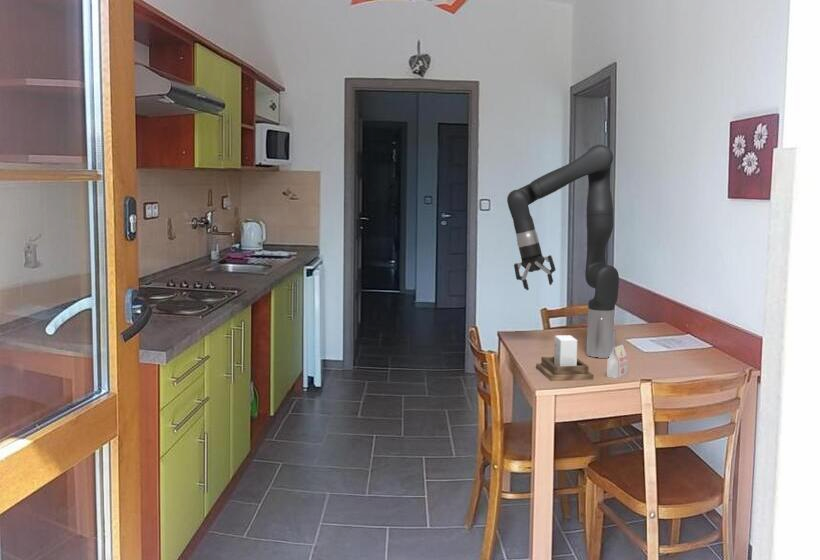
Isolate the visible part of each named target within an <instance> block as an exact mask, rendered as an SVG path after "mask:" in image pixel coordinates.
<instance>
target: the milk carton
mask: <svg viewBox="0 0 820 560" xmlns="http://www.w3.org/2000/svg"><path fill="white" fill-rule="evenodd" d="M606 363H607V364H606V377H607V376H608V377H613V378H620V377H622V376H624V377H626V376H625V375H628V356H627V353H626V351H625V347H624V344H620V345H617V346H615V348H613V350H612V352H611V354H610V356H609V358H607V360H606ZM622 378H623V377H622ZM620 379H621V378H620Z"/></svg>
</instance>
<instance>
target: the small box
mask: <svg viewBox="0 0 820 560" xmlns="http://www.w3.org/2000/svg"><path fill="white" fill-rule="evenodd" d="M553 343H554V345H553V346H554V347H553V348H554V349H553V352H554V353H553V354H554V356H553V357H554V365H555V366H577V359H578V339H576V338H575V337H574V336H572V335H568V334H567V335H563V334H562V335H556V334H555V335H554V342H553Z"/></svg>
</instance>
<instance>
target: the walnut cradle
mask: <svg viewBox="0 0 820 560" xmlns="http://www.w3.org/2000/svg"><path fill="white" fill-rule="evenodd" d="M540 360H541V362H540V363H536V364H535V367H536V370H538V371H539V372H540V373H541V374H542V375H544V376H545V377H546V378H547V379H548V380H549V381H551V382H552V381H554V382H556V381H557V382H559V381H560V382H561V381H584V380H583V379H593V380H594V377H595V376H594V374H593V373H591V372H590V371H589V365H587V364H586V363H585V362H583V361H582V360H580V359H578V358H577V366H555V365H554V356H544V357H543V356H542V357H541V359H540Z"/></svg>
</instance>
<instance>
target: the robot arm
mask: <svg viewBox="0 0 820 560" xmlns="http://www.w3.org/2000/svg"><path fill="white" fill-rule="evenodd" d="M613 160H614V154H613V151H612V150H611V149H610V147H608V146H607V145H604V144H596V145H593V146H591V147H589V149H588V150H587V151H586V152H585V153H584V154H582V155H580V156H579V157H578V158H576V159H575V160H573V161H571V162H569V163H567V164H565V165H563V166H561V167H558V168H557V169H553V170H552V171H549V172H548V173H546V174H543V175H542V176H539V177H538V178H536V179H534V180H532V181H531V182H530V183H528V184H526V185H524V186H522V187H520V188H517V189H514V190H511V191H510V192H509V193H508V195H507V198H506V199H507V200H506V201H507V206H508V210H509V212H510V215H511V216H510V217H511V219H512V221H513V226H514V227H513V228H514V231H515V234H516V235H515V236H516V242H517V246H518V251H519V254H520V258H521V262H518V263H517V262H515V263H514V264H513V268H514V273H515V274H514V275H515V279H516V280H517V281H521V282H522V286H523V288H524V290H526V291H529V290H530V288H529V284H528V280H527V279H526V278H527V276H528V273H529V272H530V273H533V272H536V271H543V272H544V273H545V274H547V276H546V277H547V280H548V284H549V286H551V285H553V283H554V279H553V274H552V273H555V271H556V266H555V262H554V259H553V256H552V255H551V254H549V255H547V256H543V252H542V250H541V244H540V241H539V236H538V233H537V230H536V227H535V223H534V220H533V216H532V215H531V213H530V208H529V206H530V205H531V204H533V203H534V202H536V201H538V200H540V199H543V198H545V197H547V196H549V195H551V194H553V193H556V192H557V191H559V190H561V189H563V188H564V187H565V186H567V185H569V184H571V183H573V182H574V181H576V180H579V179H581V178H584V177H587V180H588V189H587V197H586V198H587V199H586V230H587V231H586V259H585V260H586V262H585V271H584V272H585V274H584V275H585V281H586V283H587V285H588V286H589V287H590V288H592V289H594V296H593V298H591V299H589V301H588V304H587V307H588V308H587V329H586V330H587V331H586V332H587V333H586V350H585V351H586V353H585V354H586V355H587V356H588V357H590V356H591V358H595V357H598V358H599V359H608V357H609V356H610V354H611V352H612V350H613V348H615V347H616V334H617V333H616V330H615V309H616V303H617V301H618V297H619V296H618V295H619V285H620V276H619V272H618V269H617V268H616V267H614V266H613V265H609V264H607V263H606V260H607V259H606V250H607V245H608V242H609V241H610V238H611V237H612V236H611V235H612V232H613V229H614V207H613V206H614V205H613V197H612V191H611V181H610V180H611V168H612V163H613ZM545 261H546V262H547V263H549V266H550V269H549V268H548V267H547V266H545V265H544V263H545ZM521 266H522V267H523V269H524V272H523V274H522V275H521V273H520V269H521ZM598 358H597V359H598Z"/></svg>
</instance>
